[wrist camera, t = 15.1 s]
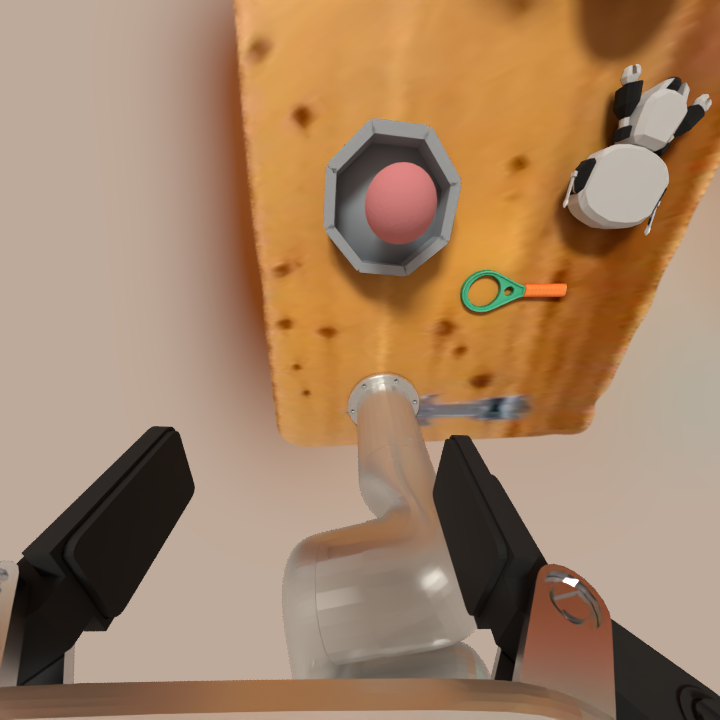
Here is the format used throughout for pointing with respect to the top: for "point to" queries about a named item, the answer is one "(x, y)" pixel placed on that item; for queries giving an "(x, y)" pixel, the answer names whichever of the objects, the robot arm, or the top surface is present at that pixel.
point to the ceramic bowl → (353, 178)
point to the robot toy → (633, 154)
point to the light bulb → (400, 203)
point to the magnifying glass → (516, 292)
